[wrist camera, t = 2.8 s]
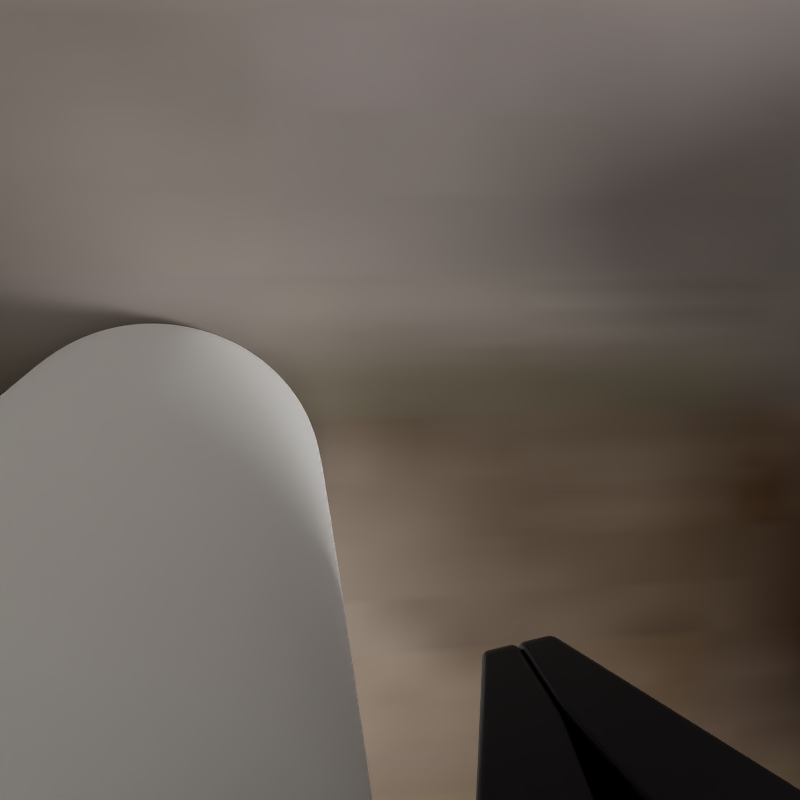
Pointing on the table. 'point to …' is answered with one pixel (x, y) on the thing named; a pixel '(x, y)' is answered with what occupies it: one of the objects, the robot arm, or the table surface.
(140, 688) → the can
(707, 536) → the table surface
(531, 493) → the table surface
